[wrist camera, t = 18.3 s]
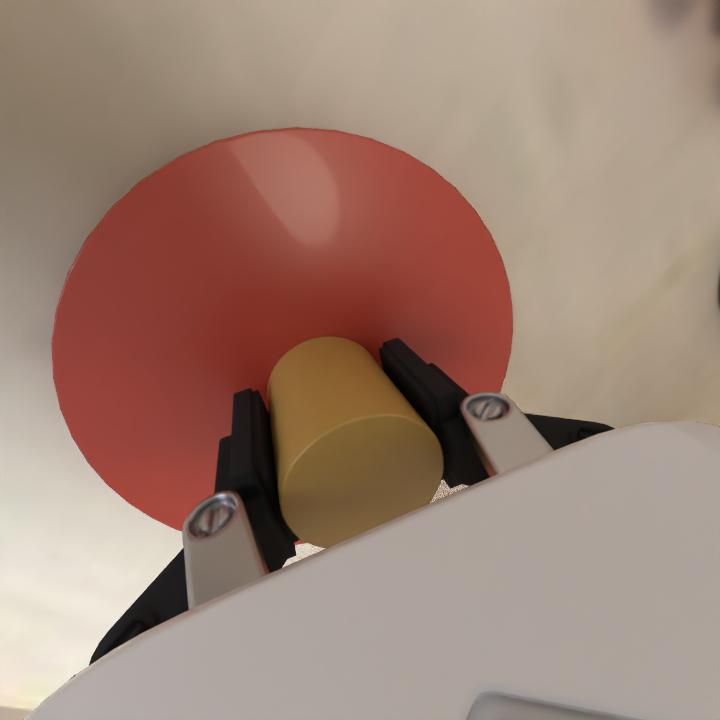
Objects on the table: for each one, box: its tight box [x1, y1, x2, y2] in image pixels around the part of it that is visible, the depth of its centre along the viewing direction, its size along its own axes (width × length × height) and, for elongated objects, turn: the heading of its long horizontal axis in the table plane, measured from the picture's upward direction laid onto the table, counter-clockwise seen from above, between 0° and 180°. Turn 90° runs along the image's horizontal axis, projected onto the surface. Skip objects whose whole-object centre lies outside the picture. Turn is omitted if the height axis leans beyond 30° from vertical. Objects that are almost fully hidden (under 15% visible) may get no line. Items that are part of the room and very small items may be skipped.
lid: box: [52, 127, 513, 548], centre depth 11 cm, size 16×16×6 cm
